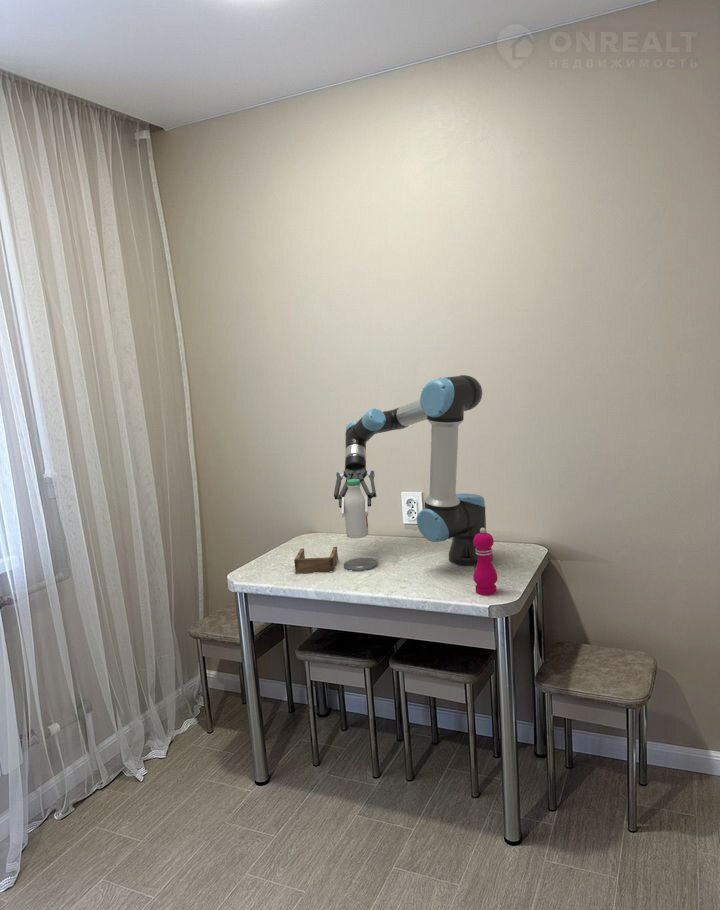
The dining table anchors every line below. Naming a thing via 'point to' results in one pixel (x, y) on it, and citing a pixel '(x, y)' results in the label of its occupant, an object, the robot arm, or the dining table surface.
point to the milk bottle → (355, 511)
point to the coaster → (361, 564)
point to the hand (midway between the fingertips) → (354, 514)
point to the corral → (315, 563)
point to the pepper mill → (484, 564)
